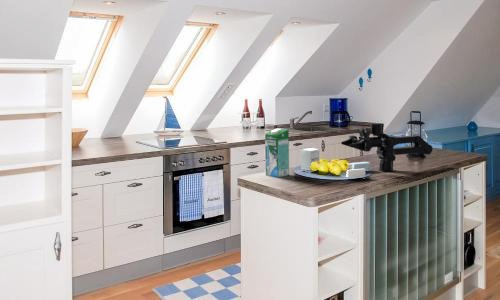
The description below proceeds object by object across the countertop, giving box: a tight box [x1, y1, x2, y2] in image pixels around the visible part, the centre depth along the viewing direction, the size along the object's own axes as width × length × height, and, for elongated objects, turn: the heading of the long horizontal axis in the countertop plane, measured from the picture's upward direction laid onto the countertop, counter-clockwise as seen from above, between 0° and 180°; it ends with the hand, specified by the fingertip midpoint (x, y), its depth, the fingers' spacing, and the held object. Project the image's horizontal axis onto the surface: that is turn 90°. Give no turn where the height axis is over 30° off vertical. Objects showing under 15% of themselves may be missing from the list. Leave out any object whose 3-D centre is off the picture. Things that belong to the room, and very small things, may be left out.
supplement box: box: [300, 147, 320, 170], centre depth 268 cm, size 7×7×13 cm
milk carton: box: [264, 127, 290, 178], centre depth 260 cm, size 9×9×25 cm
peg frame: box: [344, 163, 366, 180], centre depth 255 cm, size 15×10×5 cm, turn 17°
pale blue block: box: [349, 161, 371, 171], centre depth 265 cm, size 10×4×5 cm, turn 107°
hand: (345, 144), depth 256 cm, fingers open, 9 cm apart
